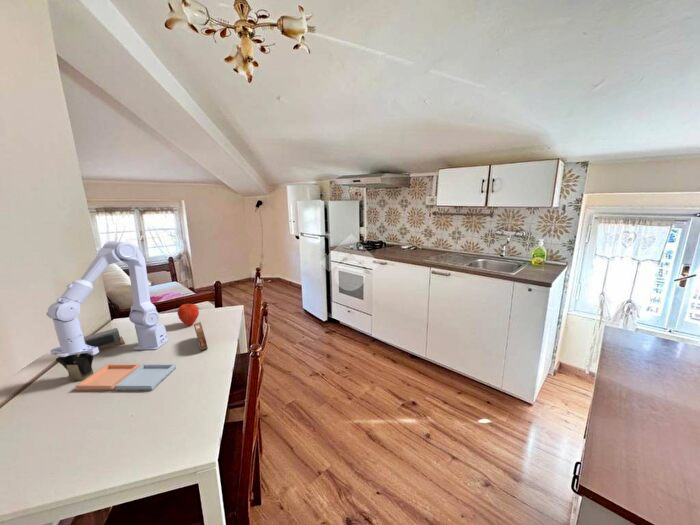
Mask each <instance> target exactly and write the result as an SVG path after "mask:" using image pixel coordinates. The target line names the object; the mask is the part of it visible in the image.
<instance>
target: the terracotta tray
mask: <svg viewBox="0 0 700 525" xmlns="http://www.w3.org/2000/svg"><path fill="white" fill-rule="evenodd" d="M140 366H141V364H140V363H108V364H106V365H104V366H103V367H102V368H100V369H99V370H97V371H95V372H93V374H92V375H90V376H89V377H87V378H86V379H84V380H83V381H79V383H78V384H76V385H75V388H76V391H79V392H80V391H84V392H88V391H89V392H91V391H98V392H99V391H101V392H102V391H103V392H107V391H109V392H111V390H113V391H114V390H116V387H115V386H116V385H117V384H118V383H120V382H121V381H122V380H123V379H125V378H126V377H127V376H129V375H130V374H131V373H132V372H134V371H135V370H136V369H138V368H139V367H140Z"/></svg>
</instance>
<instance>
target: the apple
mask: <svg viewBox="0 0 700 525" xmlns="http://www.w3.org/2000/svg"><path fill="white" fill-rule="evenodd" d="M177 315H178V319H179V320H180V321H181V322H182V323H183V324H184V325H185V326H186V327H187V326H188V327H193V325H194V324H195V322H196V321H197V319H198V317H199V315H200V311H199V308H198V306H197V305H195V304H194V303H184V304H182V305H180V306H179V307H178V309H177Z"/></svg>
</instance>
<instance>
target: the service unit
mask: <svg viewBox="0 0 700 525" xmlns="http://www.w3.org/2000/svg"><path fill="white" fill-rule="evenodd" d="M83 337H84V340H85V344H86V345H90V346H93V347H98V350H99V352H98V353H100V352H104V351H107V350H110V349H112V348H116V347H118V346H122V345H126V343H125V340H124V338H123V337H122V335H121V336H120V333H119V330H118V328H117V327H115V328H111V329H108V330H103V331H100V332H98V333H93V334H89V335H85V336H83ZM78 356H80V354H77V357H78Z"/></svg>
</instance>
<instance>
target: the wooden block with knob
mask: <svg viewBox="0 0 700 525" xmlns="http://www.w3.org/2000/svg"><path fill="white" fill-rule="evenodd" d="M66 367H67V369H66V371H67V370H68V371H67V372H68V375H69V380H70V381H71V382H82V381H83V380H85V379H86V378H88V377H89V376H91V375H93V374H94V370H93V366H92V367H91V372H89V373H88V374H86V375H84V374H83V373H82V371H81V368H80V366H79V365H78V363H77V362H76V361H74V360H73V361H72V362H71V363H69V364H67V365H66Z"/></svg>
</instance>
